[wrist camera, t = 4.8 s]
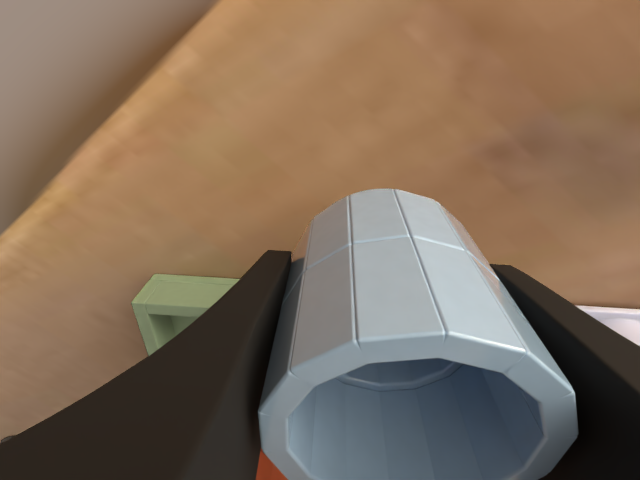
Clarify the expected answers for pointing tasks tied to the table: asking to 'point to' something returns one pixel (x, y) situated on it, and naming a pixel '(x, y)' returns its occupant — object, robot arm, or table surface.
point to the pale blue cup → (406, 356)
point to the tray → (174, 305)
